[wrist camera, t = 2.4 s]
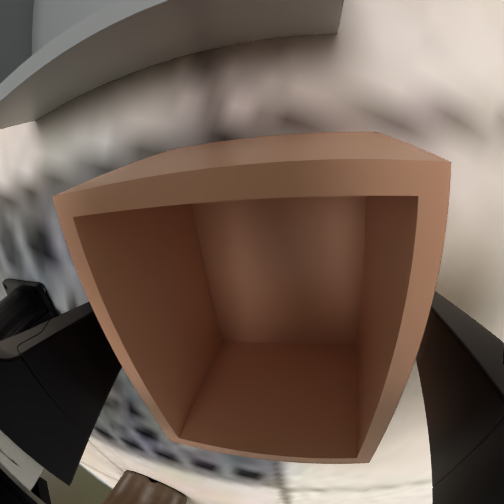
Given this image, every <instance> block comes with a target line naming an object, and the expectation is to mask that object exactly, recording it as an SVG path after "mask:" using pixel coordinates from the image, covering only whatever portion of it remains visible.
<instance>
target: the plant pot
mask: <svg viewBox="0 0 504 504" xmlns="http://www.w3.org/2000/svg"><path fill="white" fill-rule="evenodd" d="M103 504H186V497H185V496H184V495H182V494H181V493H179V492H178V491H176V490H174V489H172V488H170V487H167V486H166V485H164V484H161V483H159V482H156V483H154V482H151V481H150V480H149V478H148V477H146V476H143V475H140V474H138V473H136V472H132V471H125V472H124V474H123V475H122V477H121V478H120V480H119V481H118V483H117V484H116V486H115V487H114V488H113V490H112V491H111V493H110V494H109V495H108V497H107V498H106V500H105V501H104V503H103Z"/></svg>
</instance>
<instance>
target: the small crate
mask: <svg viewBox="0 0 504 504" xmlns="http://www.w3.org/2000/svg"><path fill="white" fill-rule="evenodd" d="M450 175H451V162H449V161H447V160H445V159H443V158H441V157H439V156H436V155H434V154H432V153H429V152H427V151H425V150H422V149H420V148H418V147H415V146H413V145H410V144H408V143H405V142H402V141H400V140H397V139H395V138H392V137H389V136H386V135H384V134H381V133H378V132H322V133H301V134H286V135H273V136H262V137H252V138H243V139H235V140H227V141H219V142H212V143H206V144H199V145H193V146H187V147H181V148H176V149H172V150H169V151H166V152H163V153H160V154H157V155H154V156H151V157H148V158H145V159H142V160H140V161H137V162H134V163H131V164H129V165H126V166H123V167H121V168H118V169H116V170H113V171H110V172H108V173H105V174H103V175H101V176H98V177H96V178H93V179H91V180H89V181H86V182H84V183H82V184H79V185H77V186H75V187H73V188H70V189H68V190H66V191H64V192H62V193H60V194H58V195H55V196H53V201H54V204H55V208H56V211H57V215H58V218H59V221H60V225H61V228H62V231H63V234H64V237H65V240H66V243H67V246H68V249H69V252H70V254H71V257H72V260H73V263H74V265H75V268H76V270H77V273H78V276H79V278H80V280H81V283H82V285H83V288H84V290H85V293H86V295H87V297H88V299H89V302H90V304H91V306H92V308H93V311H94V313H95V315H96V317H97V319H98V321H99V323H100V325H101V327H102V329H103V331H104V333H105V335H106V337H107V339H108V341H109V343H110V345H111V347H112V349H113V351H114V353H115V355H116V356H117V358H118V360H119V362H120V364H121V365H122V367H123V369H124V371H125V372H126V374H127V376H128V377H129V379H130V381H131V382H132V384H133V386H134V387H135V389H136V391H137V392H138V394H139V395H140V397H141V399H142V400H143V402H144V403H145V405H146V406H147V408H148V409H149V411H150V412H151V414H152V415H153V417H154V418H155V420H156V421H157V423H158V424H159V425H160V427H161V428H162V430H163V431H164V432H165V434H166V435H167V436H168V438H169V439H170V440H171V441H174V442H177V443H181V444H185V445H189V446H193V447H197V448H202V449H206V450H211V451H216V452H221V453H226V454H231V455H237V456H244V457H250V458H257V459H265V460H274V461H285V462H298V463H320V464H353V463H369V462H370V460H371V458H372V457H373V455H374V453H375V451H376V449H377V447H378V445H379V443H380V441H381V440H382V438H383V436H384V433H385V431H386V429H387V427H388V425H389V423H390V421H391V419H392V417H393V414H394V412H395V410H396V408H397V405H398V403H399V401H400V398H401V396H402V393H403V391H404V388H405V386H406V383H407V381H408V378H409V375H410V373H411V370H412V367H413V364H414V362H415V359H416V356H417V353H418V350H419V347H420V343H421V340H422V337H423V334H424V330H425V327H426V323H427V320H428V316H429V312H430V308H431V304H432V300H433V296H434V292H435V287H436V283H437V278H438V273H439V268H440V263H441V257H442V251H443V245H444V238H445V231H446V223H447V214H448V204H449V192H450Z"/></svg>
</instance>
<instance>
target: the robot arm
mask: <svg viewBox="0 0 504 504" xmlns="http://www.w3.org/2000/svg"><path fill="white" fill-rule="evenodd" d="M2 283H3V286H4V289H5V291H6V293H7V296H6V297H5V298H4V299H2V300H1V301H0V504H51V501H50V496H49V491H48V487H47V481H46V480H44V479H43V478H42V477H40V475H41V474H42V472H43V471H44V469H46V470H47V471H48V472H50V473H51V474H52V475H54V476H55V477H57V478H58V479H60V480H61V481H63V482H64V483H65V484H67V485H68V486H70V484H71V483H72V480H73V478H74V475H75V472H76V470H77V467H78V465H79V462H80V460H81V457H82V455H83V452H84V450H85V448H86V445H87V443H88V440H89V439H88V438H90V435H91V433H92V431H93V428H94V426H95V424H96V421H97V419H98V417H99V415H100V412H101V410H102V408H103V406H104V404H105V401H106V399H107V397H108V395H109V393H110V391H111V388H112V386H113V384H114V382H115V380H116V378H117V376H118V374H119V372H120V370H121V368H122V365H121V364H120V362H119V360H118V358H117V356H116V355H115V353H114V351H113V349H112V347H111V345H110V343H109V341H108V339H107V337H106V335H105V333H104V331H103V329H102V327H101V325H100V323H99V321H98V319H97V317H96V315H95V313H94V311H93V308H92V306H91V304H90V302H87V303H85V304H83V305H81V306H79V307H76V308H74V309H72V310H70V311H68V312H66V313H63V314H61V315H59V316H56V314H55V312H54V310H53V308H52V306H51V304H50V302H49V299H48V297H47V295H46V293H45V291H44V289H43V287H42V286H41V285H40V284H38V283H33V282H25V281H18V280H11V279H5V280H4V281H3V282H2ZM416 361H417V367H418V371H419V376H420V382H421V387H422V393H423V398H424V405H425V411H426V418H427V425H428V434H429V443H430V453H431V466H432V486H433V488H432V491H433V504H504V342H502V341H501V340H500V339H499V338H497V337H496V336H495V335H494V334H492V333H491V332H490V331H488V330H487V329H486V328H485V327H483V326H482V325H481V324H479V323H478V322H477V321H475V320H474V319H473V318H471V317H470V316H469V315H467V314H466V313H465V312H463V311H462V310H461V309H459V308H458V307H457V306H455V305H454V304H452V303H451V302H450V301H448V300H447V299H445V298H444V297H443V296H441V295H440V294H438V293H437V292H436V291H435V292H434V296H433V300H432V304H431V308H430V312H429V316H428V320H427V323H426V327H425V330H424V334H423V337H422V340H421V343H420V347H419V350H418V353H417V356H416Z"/></svg>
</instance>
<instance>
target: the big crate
mask: <svg viewBox="0 0 504 504" xmlns="http://www.w3.org/2000/svg"><path fill="white" fill-rule="evenodd" d="M343 2H344V0H0V129H3V128H6V127H10V126H14V125H18V124H22V123H26V122H31V121H35V120H37V119H38V118H40V117H42V116H43V115H45V114H47V113H48V112H50V111H52V110H54V109H56V108H57V107H59V106H61V105H63V104H65V103H67V102H69V101H70V100H72V99H74V98H76V97H78V96H80V95H82V94H84V93H87V92H89V91H91V90H93V89H95V88H97V87H100V86H102V85H104V84H106V83H109V82H111V81H113V80H116V79H118V78H121V77H123V76H126V75H128V74H131V73H133V72H136V71H139V70H142V69H144V68H147V67H150V66H153V65H156V64H159V63H162V62H165V61H169V60H172V59H175V58H179V57H182V56H186V55H189V54H193V53H197V52H201V51H205V50H209V49H214V48H218V47H223V46H227V45H233V44H238V43H243V42H249V41H256V40H262V39H270V38H278V37H287V36H298V35H312V34H337V33H338V28H339V23H340V18H341V12H342V7H343Z"/></svg>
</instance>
